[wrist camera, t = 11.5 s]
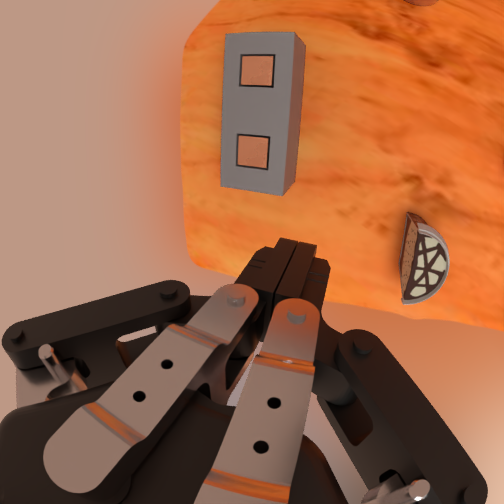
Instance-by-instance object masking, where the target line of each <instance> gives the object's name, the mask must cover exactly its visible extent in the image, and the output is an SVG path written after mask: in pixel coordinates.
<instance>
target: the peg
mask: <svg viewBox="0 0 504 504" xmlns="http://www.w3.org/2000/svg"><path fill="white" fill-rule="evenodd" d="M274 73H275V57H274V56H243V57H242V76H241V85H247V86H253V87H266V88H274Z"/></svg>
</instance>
